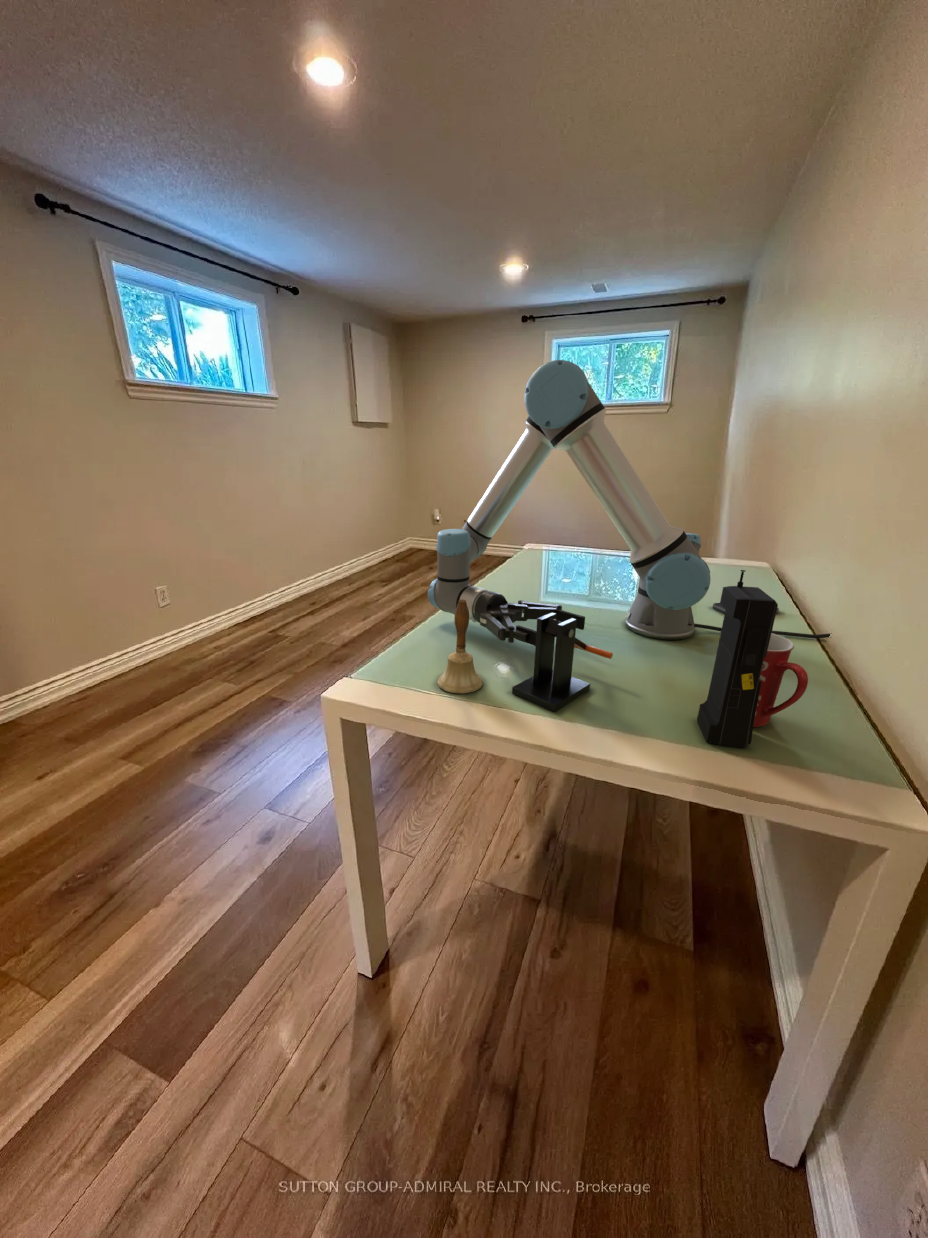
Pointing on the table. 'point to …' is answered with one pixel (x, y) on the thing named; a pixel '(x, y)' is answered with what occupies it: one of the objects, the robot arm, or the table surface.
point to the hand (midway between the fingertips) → (565, 632)
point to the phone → (720, 608)
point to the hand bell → (460, 659)
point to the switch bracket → (547, 683)
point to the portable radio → (738, 666)
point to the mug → (777, 679)
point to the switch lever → (577, 641)
